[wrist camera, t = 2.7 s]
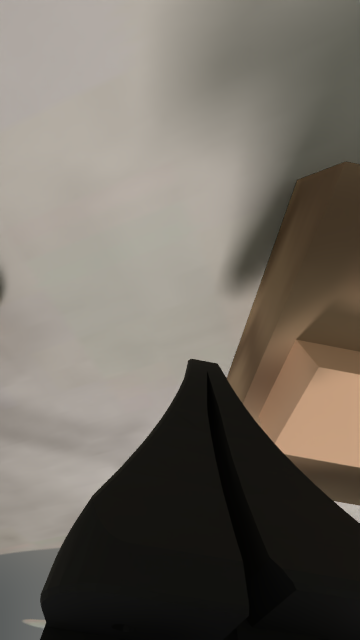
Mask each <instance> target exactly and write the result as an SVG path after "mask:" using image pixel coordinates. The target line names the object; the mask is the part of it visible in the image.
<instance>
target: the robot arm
mask: <svg viewBox="0 0 360 640" xmlns="http://www.w3.org/2000/svg"><path fill="white" fill-rule="evenodd" d="M40 602H41V607H42V611H43V614H44V617H45V620H46V625H45V628H44V630H43V633H42V636H41V639H40V640H360V523H358V522H357V521H356V520H355V519H354V518H352V517H351V516H350V515H349V514H348V513H346V512H345V511H344V510H343V509H342V508H341V507H339V506H338V505H337V504H336V503H335V502H334V501H333V500H332V499H330V498H329V497H328V496H327V495H326V494H325V493H324V492H323V491H322V490H321V489H319V488H318V487H317V486H316V485H315V484H314V483H313V482H312V481H311V480H310V479H309V478H308V477H307V476H306V475H305V474H304V473H303V472H302V471H300V470H299V468H298V467H297V466H296V465H295V464H294V463H293V462H292V461H291V460H290V459H289V458H288V457H287V456H286V455H285V454H284V453H283V452H282V451H281V450H280V449H279V448H278V447H277V446H276V445H275V443H274V442H273V441H272V440H271V439H270V438H269V436H268V435H267V434H266V433H265V432H264V431H263V429H262V428H261V427H260V426H259V425H258V423H257V422H256V421H255V420H254V418H253V417H252V416H251V414H250V413H249V412H248V410H247V409H246V408H245V406H244V405H243V403H242V402H241V400H240V399H239V397H238V396H237V394H236V393H235V391H234V390H233V388H232V387H231V385H230V383H229V382H228V380H227V378H226V377H225V375H224V373H223V372H222V370H221V368H220V367H219V365H218V364H216V363H211V362H206V361H200V360H195V359H190V360H188V365H187V369H186V373H185V377H184V380H183V382H182V384H181V387H180V389H179V391H178V392H177V394H176V396H175V398H174V400H173V401H172V403H171V405H170V406H169V408H168V409H167V411H166V412H165V414H164V415H163V417H162V418H161V420H160V421H159V423H158V424H157V425H156V426H155V428H154V429H153V430H152V432H151V433H150V434H149V436H148V437H147V438H146V439H145V441H144V442H143V443H142V444H141V445H140V446H139V448H138V449H137V450H136V451H135V452H134V453H133V454H132V455H131V457H130V458H129V459H128V460H127V461H126V462H125V463H124V464H123V466H122V467H121V468H120V469H119V470H118V471H117V472H116V473H115V474H114V475H113V476H112V477H111V478H110V479H109V480H108V481H107V482H106V483H105V484H104V485H103V486H102V487H101V488H100V489H99V490H98V491H97V492H96V493H95V494H94V495H93V496H92V497H91V499H90V501H89V502H88V503H87V505H86V506H85V508H84V509H83V511H82V513H81V514H80V516H79V517H78V519H77V520H76V522H75V523H74V525H73V527H72V528H71V530H70V532H69V533H68V535H67V537H66V539H65V540H64V542H63V544H62V546H61V548H60V550H59V552H58V555H57V556H56V558H55V561H54V564H53V566H52V568H51V571H50V573H49V576H48V578H47V581H46V583H45V585H44V588H43V590H42V593H41V598H40Z"/></svg>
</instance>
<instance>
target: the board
mask: <svg viewBox="0 0 360 640" xmlns="http://www.w3.org/2000/svg"><path fill="white" fill-rule="evenodd" d="M295 340H301V341H307V342H312V343H317V344H322V345H327V346H333V347H338V348H343V349H348V350H353V351H359V352H360V164H355V163H350V162H343V163H341V164H338V165H335V166H333V167H330V168H327V169H325V170H322V171H319V172H317V173H314V174H312V175H309V176H306V177H304V178H301V179H298V180H297V182H296V185H295V188H294V191H293V193H292V196H291V199H290V202H289V205H288V208H287V210H286V213H285V216H284V219H283V222H282V224H281V227H280V230H279V233H278V236H277V239H276V241H275V244H274V247H273V250H272V253H271V255H270V258H269V261H268V264H267V267H266V269H265V272H264V275H263V278H262V281H261V284H260V286H259V289H258V292H257V295H256V298H255V300H254V303H253V306H252V309H251V312H250V314H249V317H248V320H247V323H246V326H245V329H244V331H243V334H242V337H241V340H240V343H239V345H238V348H237V351H236V354H235V357H234V359H233V362H232V365H231V368H230V371H229V374H228V376H227V380H228V382H229V383H230V385H231V387H232V388H233V390H234V391H235V393H236V394H237V396H238V397H239V399H240V400H241V402H242V403H243V405H244V406H245V408H246V409H247V410H248V412H249V413H250V414H251V416H252V417H253V418H254V420H255V421H256V422H257V423H258V425H259V426H260V427H261V428H262V425H261V422H260V419H259V414H260V412H261V410H262V408H263V406H264V404H265V402H266V400H267V398H268V396H269V393H270V391H271V389H272V387H273V385H274V383H275V381H276V379H277V377H278V375H279V373H280V371H281V369H282V367H283V365H284V363H285V361H286V359H287V356H288V354H289V352H290V350H291V348H292V346H293V344H294V342H295ZM262 429H263V428H262ZM285 455H286V456H287V457H288V458H289V459H290V460H291V461H292V462H293V463H294V464H295V465H296V466H297V467H298V468H299V470H300V471H302V472H303V473H304V474H305V475H306V476H307V477H308V478H309V479H310V480H311V481H312V482H313V483H314V484H315V485H316V486H317V487H318V488H319V489H321V490H322V491H323V492H324V493H325V494H326V495H327V496H328V497H329V498H330V499H332V500H333V501H337V502H343V503H349V504H355V505H360V468H359V467H354V466H348V465H342V464H337V463H331V462H326V461H320V460H315V459H309V458H303V457H298V456H292V455H287V454H285Z"/></svg>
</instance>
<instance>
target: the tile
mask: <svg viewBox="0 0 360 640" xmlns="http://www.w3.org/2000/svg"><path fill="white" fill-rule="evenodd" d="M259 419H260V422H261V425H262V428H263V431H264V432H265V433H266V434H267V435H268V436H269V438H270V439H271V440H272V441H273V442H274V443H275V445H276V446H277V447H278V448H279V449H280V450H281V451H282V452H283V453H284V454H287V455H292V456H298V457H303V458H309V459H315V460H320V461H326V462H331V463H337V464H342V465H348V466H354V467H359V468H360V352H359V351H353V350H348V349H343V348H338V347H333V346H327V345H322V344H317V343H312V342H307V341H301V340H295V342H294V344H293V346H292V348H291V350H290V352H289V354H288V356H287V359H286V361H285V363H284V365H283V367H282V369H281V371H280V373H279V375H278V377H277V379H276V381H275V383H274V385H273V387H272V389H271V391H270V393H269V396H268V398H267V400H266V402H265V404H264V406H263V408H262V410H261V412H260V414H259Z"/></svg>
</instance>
